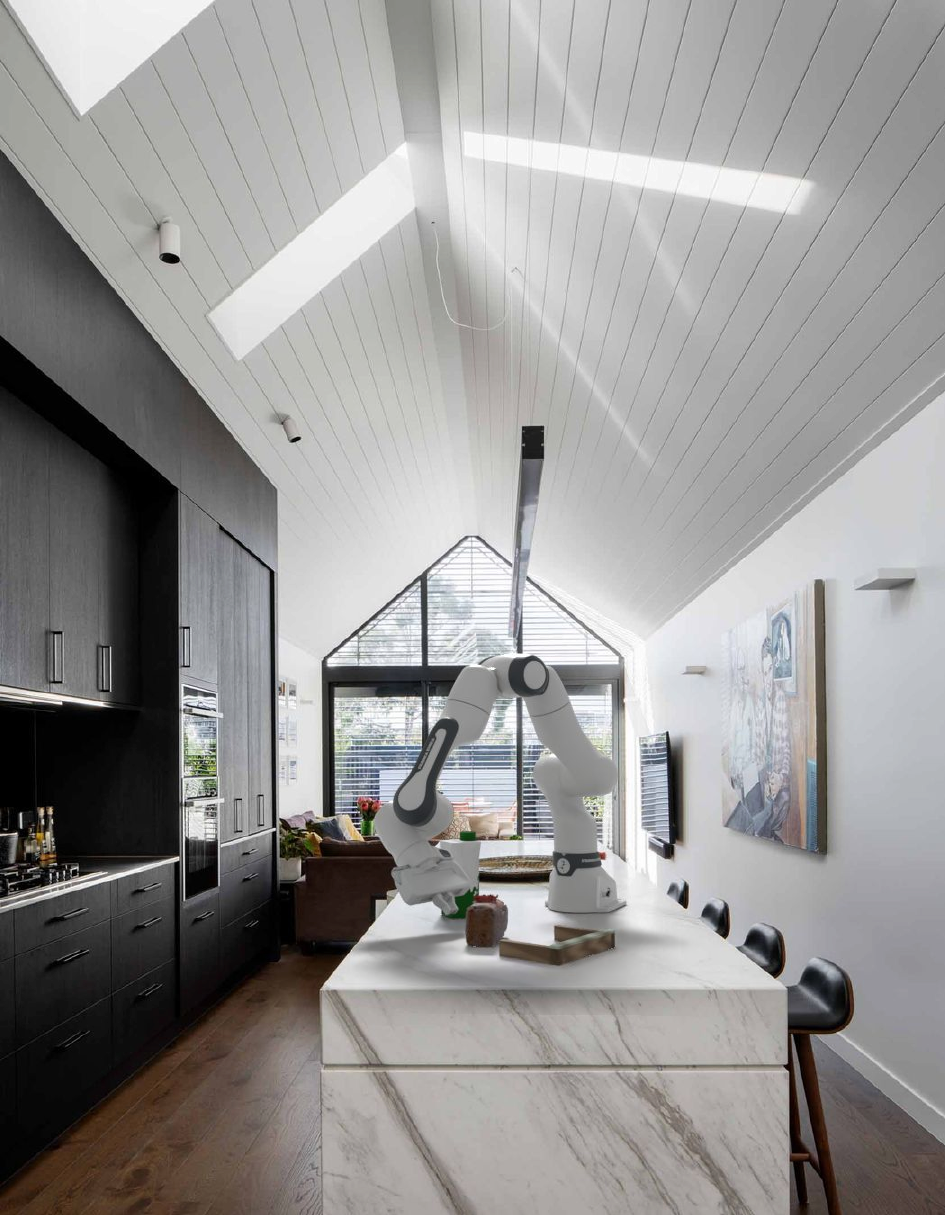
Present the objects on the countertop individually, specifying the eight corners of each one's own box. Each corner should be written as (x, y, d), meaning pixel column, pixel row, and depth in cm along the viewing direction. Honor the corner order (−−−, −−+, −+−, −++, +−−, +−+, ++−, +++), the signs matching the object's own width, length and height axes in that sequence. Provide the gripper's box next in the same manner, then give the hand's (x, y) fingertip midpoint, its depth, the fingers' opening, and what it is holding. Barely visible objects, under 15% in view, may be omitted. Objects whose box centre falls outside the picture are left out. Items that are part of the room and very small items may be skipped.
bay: (558, 939, 211) (558, 922, 212) (615, 947, 202) (614, 930, 203) (499, 956, 195) (499, 937, 195) (558, 965, 186) (558, 946, 187)
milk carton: (484, 917, 238) (484, 832, 241) (450, 920, 234) (450, 834, 237) (469, 911, 246) (469, 830, 249) (435, 914, 242) (436, 831, 245)
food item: (473, 934, 217) (473, 888, 218) (509, 936, 216) (509, 889, 217) (462, 947, 204) (462, 898, 205) (501, 948, 202) (500, 899, 204)
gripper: (395, 858, 215) (429, 909, 207) (455, 850, 231) (488, 897, 223) (380, 878, 217) (413, 929, 209) (440, 868, 233) (473, 915, 225)
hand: (452, 912), depth 216 cm, fingers closed
